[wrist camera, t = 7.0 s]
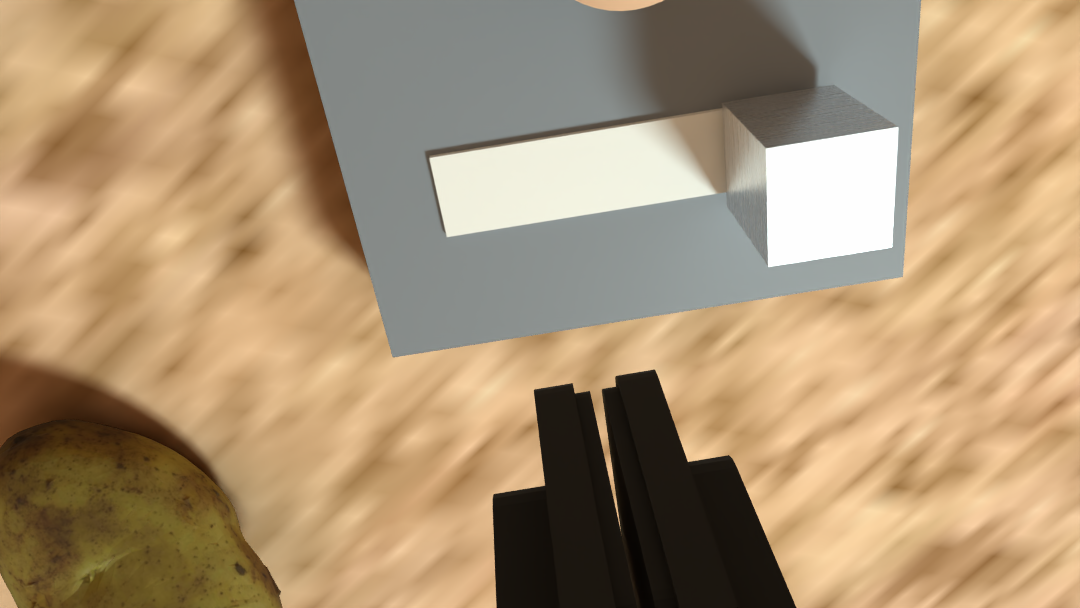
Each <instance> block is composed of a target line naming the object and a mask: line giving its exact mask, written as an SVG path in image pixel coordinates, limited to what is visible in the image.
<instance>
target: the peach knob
mask: <svg viewBox="0 0 1080 608" xmlns="http://www.w3.org/2000/svg"><path fill="white" fill-rule="evenodd" d="M576 1H578V2H580V3H582V4H584V5H587V6H590V7H593V8H597V9H603V10H608V11H628V10H636V9H641V8H645V7H649V6H651V5H654V4H657V3H659V2H662V1H663V0H576Z"/></svg>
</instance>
